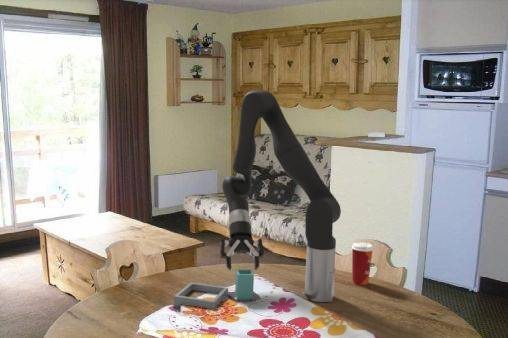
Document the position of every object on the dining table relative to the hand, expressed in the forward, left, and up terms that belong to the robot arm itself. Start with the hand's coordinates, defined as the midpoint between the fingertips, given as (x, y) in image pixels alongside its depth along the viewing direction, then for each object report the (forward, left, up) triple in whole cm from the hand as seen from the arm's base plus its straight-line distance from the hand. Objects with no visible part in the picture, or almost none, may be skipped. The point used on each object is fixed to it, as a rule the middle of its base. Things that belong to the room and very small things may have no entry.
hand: (243, 268), depth 163 cm
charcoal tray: (+10, +9, -9) cm, 17 cm away
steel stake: (-2, +3, -9) cm, 10 cm away
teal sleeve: (-2, +3, -8) cm, 9 cm away
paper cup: (-36, -29, -10) cm, 47 cm away
